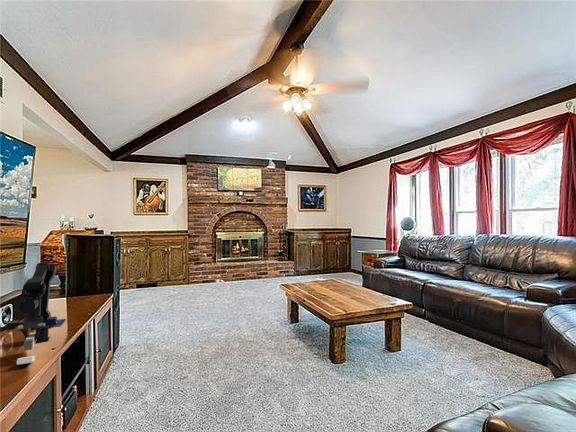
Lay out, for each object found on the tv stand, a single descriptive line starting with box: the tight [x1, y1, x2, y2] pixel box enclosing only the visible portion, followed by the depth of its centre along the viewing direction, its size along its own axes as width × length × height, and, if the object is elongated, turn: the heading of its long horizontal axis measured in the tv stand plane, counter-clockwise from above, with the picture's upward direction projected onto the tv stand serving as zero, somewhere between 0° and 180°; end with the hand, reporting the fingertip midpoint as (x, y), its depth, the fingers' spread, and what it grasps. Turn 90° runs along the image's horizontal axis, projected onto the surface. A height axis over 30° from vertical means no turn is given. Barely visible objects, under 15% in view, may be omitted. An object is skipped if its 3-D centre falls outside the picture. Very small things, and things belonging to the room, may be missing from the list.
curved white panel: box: [23, 331, 36, 352], centre depth 149 cm, size 14×3×4 cm, turn 31°
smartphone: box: [53, 318, 67, 328], centre depth 196 cm, size 7×1×15 cm
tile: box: [16, 355, 36, 366], centre depth 140 cm, size 2×5×8 cm
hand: (31, 341), depth 150 cm, fingers closed on curved white panel, 3 cm apart
